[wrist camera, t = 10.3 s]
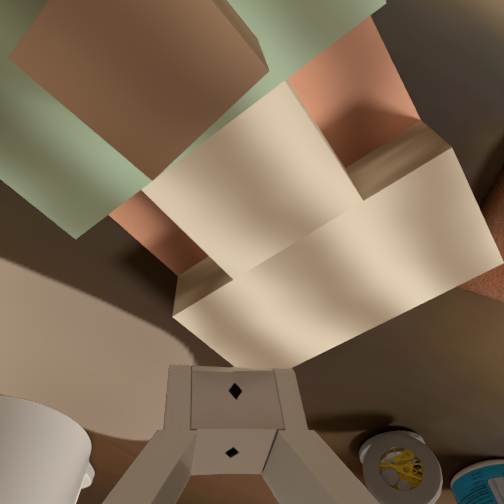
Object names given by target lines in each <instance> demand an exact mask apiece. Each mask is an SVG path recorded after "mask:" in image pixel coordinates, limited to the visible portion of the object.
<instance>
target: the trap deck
mask: <svg viewBox="0 0 504 504" xmlns="http://www.w3.org/2000/svg"><path fill="white" fill-rule="evenodd" d="M48 1H49V0H0V179H1V180H2V181H3V182H5V183H6V184H7V185H8V186H10V187H11V188H12V189H13V190H15V191H16V192H17V193H18V194H20V195H21V196H22V197H23V198H25V199H26V200H27V201H28V202H30V203H31V204H32V205H33V206H35V207H36V208H37V209H38V210H40V211H41V212H42V213H43V214H45V215H46V216H47V217H48V218H50V219H51V220H52V221H53V222H55V223H56V224H57V225H58V226H60V227H61V228H62V229H63V230H65V231H66V232H67V233H68V234H70V235H71V236H72V237H73V238H75V239H77V238H78V237H79V236H81V235H82V234H83V233H85V232H86V231H87V230H89V229H90V228H91V227H93V226H94V225H95V224H97V223H98V222H99V221H101V220H102V219H103V218H104V217H106V216H107V215H109V216H110V217H112V218H113V219H114V220H115V221H116V222H117V223H118V224H120V225H121V226H122V227H123V228H124V229H125V230H126V231H127V232H129V233H130V234H131V235H132V236H133V237H134V238H135V239H137V240H138V241H139V242H140V243H141V244H142V245H143V246H144V247H146V248H147V249H148V250H149V251H150V252H151V253H152V254H154V255H155V256H156V257H157V258H158V259H159V260H160V261H161V262H163V263H164V264H165V265H166V266H167V267H168V268H169V269H171V270H172V271H173V272H174V273H175V274H176V275H177V276H178V280H177V287H176V294H175V302H174V309H173V316H172V317H173V318H175V319H176V320H177V321H178V322H180V323H181V324H182V325H183V326H185V327H186V328H187V329H188V330H190V331H191V332H192V333H193V334H195V335H196V336H197V337H198V338H200V339H201V340H202V341H203V342H205V343H206V344H207V345H208V346H210V347H211V348H212V349H213V350H215V351H216V352H217V353H218V354H220V355H221V356H222V357H223V358H225V359H226V360H227V361H228V362H230V363H231V364H232V365H233V366H235V367H265V368H287V369H290V368H292V367H294V366H296V365H298V364H300V363H302V362H304V361H306V360H308V359H311V358H313V357H315V356H317V355H319V354H321V353H323V352H325V351H327V350H329V349H331V348H333V347H335V346H337V345H339V344H341V343H343V342H345V341H347V340H349V339H351V338H353V337H355V336H357V335H359V334H361V333H363V332H365V331H367V330H369V329H371V328H373V327H375V326H377V325H379V324H381V323H384V322H386V321H388V320H390V319H392V318H394V317H396V316H398V315H400V314H402V313H404V312H406V311H408V310H410V309H412V308H414V307H416V306H418V305H420V304H422V303H424V302H426V301H428V300H430V299H432V298H434V297H436V296H438V295H440V294H442V293H444V292H446V291H448V290H450V289H452V288H454V287H457V286H459V285H461V284H463V283H465V282H467V281H469V280H471V279H473V278H475V277H477V276H479V275H481V274H483V273H485V272H487V271H489V270H491V269H493V268H495V267H497V266H499V265H501V264H503V263H504V261H503V259H502V257H501V255H500V252H499V250H498V248H497V246H496V244H495V241H494V239H493V237H492V235H491V233H490V230H489V228H488V226H487V224H486V222H485V219H484V217H483V215H482V213H481V211H480V208H479V206H478V204H477V202H476V200H475V197H474V195H473V193H472V191H471V188H470V186H469V184H468V182H467V180H466V177H465V175H464V173H463V171H462V169H461V166H460V164H459V162H458V160H457V158H456V155H455V153H454V151H453V149H452V147H451V146H450V145H449V144H447V143H446V142H445V141H444V140H443V139H442V138H441V137H439V136H438V135H437V134H436V133H435V132H434V131H433V130H431V129H430V128H429V127H428V126H427V125H426V124H425V123H424V122H422V121H421V120H420V118H419V116H418V114H417V111H416V109H415V107H414V105H413V103H412V101H411V99H410V97H409V95H408V93H407V91H406V89H405V87H404V85H403V82H402V80H401V78H400V76H399V74H398V72H397V70H396V68H395V66H394V64H393V62H392V60H391V58H390V56H389V53H388V51H387V49H386V47H385V45H384V43H383V41H382V39H381V37H380V35H379V33H378V31H377V29H376V27H375V24H374V22H373V20H372V18H371V16H370V15H371V14H373V13H374V12H375V11H377V10H378V9H379V8H381V7H382V6H383V5H385V4H386V1H385V0H227V1H228V2H229V4H230V5H231V6H232V7H233V9H234V10H235V11H236V12H237V14H238V15H239V16H240V17H241V19H242V20H243V21H244V22H245V24H246V25H247V26H248V27H249V29H250V30H251V31H252V32H253V34H254V35H255V36H256V37H257V39H258V41H259V44H260V46H261V49H262V52H263V55H264V57H265V60H266V63H267V65H268V68H269V72H268V73H267V74H266V75H265V76H264V77H263V78H262V79H261V80H259V81H258V82H257V83H256V84H255V85H254V86H253V87H252V88H251V89H250V90H249V91H248V92H247V93H246V94H245V95H244V96H242V97H241V98H240V99H239V100H238V101H237V102H236V103H235V104H234V105H233V106H232V107H231V108H230V109H229V110H228V111H226V112H225V113H224V114H223V115H222V116H221V117H220V118H219V119H218V120H217V121H216V122H215V123H214V124H213V125H212V126H211V127H209V128H208V129H207V130H206V131H205V132H204V133H203V134H202V135H201V136H200V137H199V138H198V139H197V140H196V141H195V142H194V143H192V144H191V145H190V146H189V147H188V148H187V149H186V150H185V151H184V152H183V153H182V154H181V155H180V156H179V157H178V158H176V159H175V160H174V161H173V162H172V163H171V164H170V165H169V166H168V167H167V168H166V169H165V170H164V171H163V172H162V173H161V174H159V175H158V176H157V177H156V178H155V179H154V180H153V181H152V180H150V179H149V178H148V177H147V176H146V175H145V174H143V173H142V172H141V171H140V170H139V169H138V168H136V167H135V166H134V165H133V164H132V163H130V162H129V161H128V160H127V159H126V158H125V157H123V156H122V155H121V154H120V153H119V152H118V151H116V150H115V149H114V148H113V147H112V146H111V145H109V144H108V143H107V142H106V141H105V140H103V139H102V138H101V137H100V136H99V135H98V134H96V133H95V132H94V131H93V130H92V129H91V128H89V127H88V126H87V125H86V124H85V123H83V122H82V121H81V120H80V119H79V118H78V117H76V116H75V115H74V114H73V113H72V112H71V111H69V110H68V109H67V108H66V107H65V106H63V105H62V104H61V103H60V102H59V101H58V100H56V99H55V98H54V97H53V96H52V95H51V94H49V93H48V92H47V91H46V90H45V89H43V88H42V87H41V86H40V85H39V84H38V83H36V82H35V81H34V80H33V79H32V78H31V77H29V76H28V75H27V74H26V73H25V72H24V71H22V70H21V69H20V68H19V67H18V66H16V65H15V64H14V63H13V62H12V61H11V60H9V59H8V58H7V57H8V56H9V55H10V53H11V52H12V51H13V49H14V48H15V46H16V45H17V44H18V42H19V41H20V40H21V38H22V37H23V36H24V34H25V33H26V31H27V30H28V29H29V27H30V26H31V25H32V23H33V22H34V20H35V19H36V18H37V16H38V15H39V14H40V12H41V11H42V10H43V8H44V7H45V5H46V4H47V3H48Z"/></svg>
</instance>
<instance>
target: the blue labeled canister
mask: <svg viewBox="0 0 504 504" xmlns="http://www.w3.org/2000/svg"><path fill="white" fill-rule="evenodd" d="M451 490H452V492H453V495H454V497H455V499H456V501H457V503H458V504H504V459H494V460H487V461H482V462H478V463H475V464H472V465H470V466H468V467H466V468H464V469H462V470H461V471H459V472H458V473H457V474H456V475H455V476H454V477H453V479H452V481H451Z"/></svg>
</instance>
